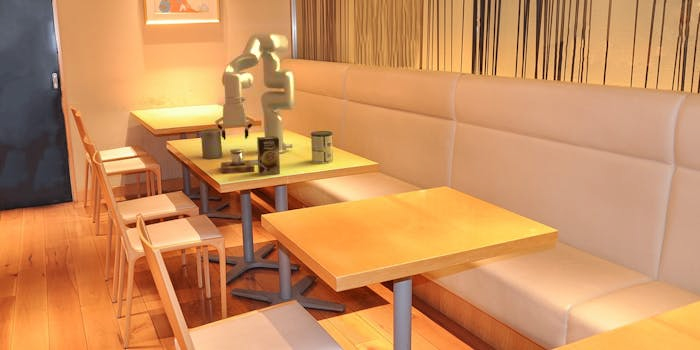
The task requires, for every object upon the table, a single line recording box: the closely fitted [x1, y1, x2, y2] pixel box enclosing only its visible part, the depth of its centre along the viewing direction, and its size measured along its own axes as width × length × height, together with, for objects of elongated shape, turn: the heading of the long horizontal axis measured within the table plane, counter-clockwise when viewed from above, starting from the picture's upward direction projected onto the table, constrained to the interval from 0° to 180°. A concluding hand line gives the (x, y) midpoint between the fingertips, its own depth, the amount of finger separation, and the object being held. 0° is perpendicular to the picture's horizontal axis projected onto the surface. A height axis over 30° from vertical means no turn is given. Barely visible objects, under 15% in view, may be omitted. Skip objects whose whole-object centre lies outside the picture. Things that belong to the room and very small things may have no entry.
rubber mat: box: [243, 159, 258, 166], centre depth 306 cm, size 10×10×1 cm
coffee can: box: [310, 130, 334, 164], centre depth 306 cm, size 10×10×14 cm
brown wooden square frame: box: [220, 161, 255, 175], centre depth 292 cm, size 14×14×2 cm
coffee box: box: [256, 136, 281, 176], centre depth 282 cm, size 9×6×16 cm
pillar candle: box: [200, 127, 223, 160], centre depth 319 cm, size 10×10×15 cm
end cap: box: [229, 148, 244, 166], centre depth 291 cm, size 6×6×9 cm
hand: (235, 138), depth 288 cm, fingers open, 9 cm apart
